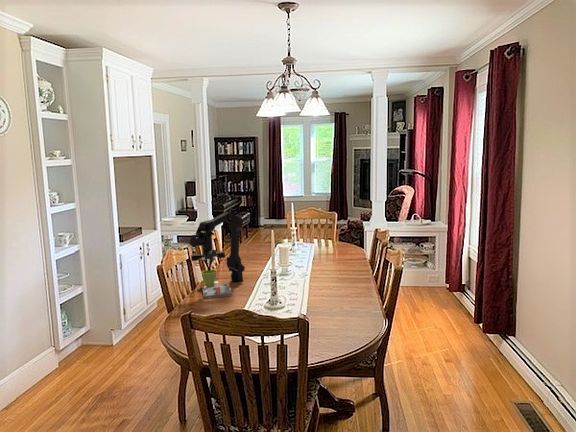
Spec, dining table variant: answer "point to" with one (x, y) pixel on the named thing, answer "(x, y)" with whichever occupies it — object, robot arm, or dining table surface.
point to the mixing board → (211, 291)
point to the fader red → (218, 289)
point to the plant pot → (209, 277)
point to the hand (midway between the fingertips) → (209, 270)
